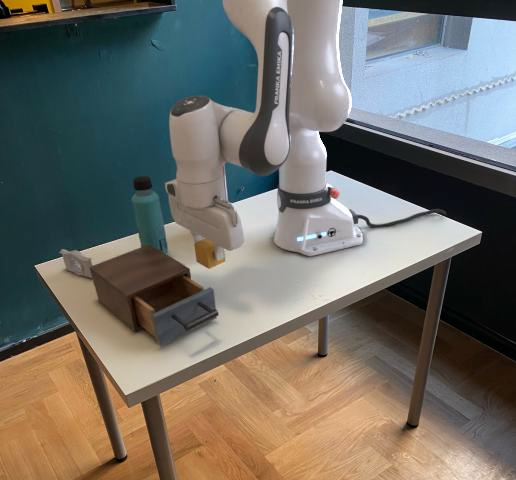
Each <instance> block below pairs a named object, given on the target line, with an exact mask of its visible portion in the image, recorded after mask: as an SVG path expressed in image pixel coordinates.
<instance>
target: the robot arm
mask: <svg viewBox="0 0 516 480" xmlns="http://www.w3.org/2000/svg"><path fill="white" fill-rule="evenodd" d="M222 7H223V10H224V13H225V15H226V17H227V18H228V20H229V22H230V23H231V24H232V25H233V26H234V28H235V29H236V30H238V31H239V32H240V33H241V34H242V35H243V36H244V37H246V39H248V41H250V43H251V45H252V46H253V49H254V50H255V52H256V57H257V63H258V64H257V65H258V68H257V84H256V85H257V86H256V103H255V111H254V112H251V111H248V110H244V109H240V108H237V107H233V106H226V105H223V104H220V103H217V102H216V101H213V100H212V99H211V98H210V97H208V96H206V95H199V94H198V95H193V96H187V97H184V98H182V99H180V100H178V101H177V102H176V103H175V104H174V105H173V106H172V107H171V109H170V111H169V117H168V123H169V124H168V128H169V139H170V147H171V154H172V158H173V160H174V161H175V165H176V172H175V176H176V177H175V179H172V180H169V181H166V182H165V183H164V189H165V192H166V194H168V196H167V197H168V199H167V200H168V204H169V210H170V214H171V217H172V219H173V222H175V224H177V225H179V226H181V227H182V228H185V229H186V230H188V231H190V235H191V236H192V239H193V241H194V243H196V242H198V241H200V240H203V239H207V240H209V241H211V242H213V243H214V246H215V247H216V248H215V251H213V252H212V254H213V258H214V259H215V260H217V261H220V260H222V259H223V258H224V254H223V251H224V252H225V250H227V251H229V252H231V251H234V250H236V249H239V248H240V247H242V246H243V245H244V243H245V236H244V229H243V224H242V219H241V216H240V214H239V212H238V210H237V209H236V208H235V207H234V206H233V203H232V202H231V201H229V200H228V201H225V200H224V198H225V190H224V180H223V171H222V166H223V164H224V165H225V164H227V163H230V164H232V165H234V166H238V167H241V168H243V169H245V170H247V171H248V172H250V173H253V174H255V175H256V176H259V177H266V176H269V175H271V174H274V173H275V172H277V171H278V185H277V192H276V204H277V209H278V213H277V214H278V215H277V223H276V228H275V233H274V236H273V242H274V244H275V245H276V246H277V247H279V248H281V249H283V250H286V251H289V252H295V253H299V254H301V255H304V256H308V257H313V256H318V255H322V254H327V253H331V252H335V251H339V250H342V249H343V250H344V249H347V248H351V247H355V246H359V245H362V244H363V239H364V238H363V233H362V230H361V229H360V228H359V227H358V226H357V225H358V224H359V219H360V220H363V221H365V223H366V225H367V226H368V227H370V228H372V229H375V228H377V229H378V228H388V227H392V226H396V225H399V224H404V223H407V222H409V221H413V220H414V219H416V218H420V217H423V216H428V215H432V214H440V215H442V216H447V215H448V214H447V212H446V211H445V210H443V209H440V208H435V209H430V210H426V211H421V212H418V213H414V214H412V215H409V216H407V217H405V218H400V219H397V220H393V221H390V222H385V223H379V224H377V223H371V221H370V218H369V217H368V216H365V215H362V214H358V213H357V212H355V211H354V210H353V209H352V208H349V209H348V208H347V207H346V206H345V205H343V204H342V203H340V202H339V201H338V200H337V199H338V198H339V197H340V191H338V189H337V188H336V187H333V186H332V184H330V183H328V182H327V181H326V178H327V160H328V159H327V157H328V155H327V150H326V147H325V145H324V144H323V141H322V140H321V138H320V133H329V132H330V133H331V132H334V131H336V130H339V128H341V127H342V126H343V125H344V124H345V123H346V121H347V119H348V118H349V115H350V112H351V109H352V95H351V92H350V89H349V88H348V86H347V84H346V82H345V80H344V76H343V72H342V67H341V59H340V50H339V49H340V47H339V46H340V45H339V35H340V24H341V15H342V7H343V0H222ZM319 132H320V133H319Z"/></svg>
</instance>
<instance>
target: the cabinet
mask: <svg viewBox="0 0 516 480" xmlns="http://www.w3.org/2000/svg"><path fill="white" fill-rule="evenodd" d="M89 268H90V272H91V275H92V278H91V279H92V282H93V286H94V289H95V293H96V297H97V301H98V302H99V303H100V304H101V305H102V306H103V307H104V308H105V309H107V310H108V311H109V312H110V313H112V314H113V315H114V316H115V317H116V318H118V319H119V320H120V322H122V323H124V324H125V325H126V326H127V327H129V329H130V330H132V331H133V332H135V333H136V332H139V331H140V330H143V329H144V328H143V327H142V326H141V325H140V324H139V323H137V322H136V317H135V313H134V308H133V304H132V299H131V297H134V296H136V295H138V294H141V293H143V292H145V291H147V290H150V289H152V288H154V287H157V286H159V285H161V284H164V283H166V282H168V281H170V280H173V279H175V278H177V277H180V276H182V275H185V276H187V277H188V278H190V279H191V280H192V274H191V268H190V267H188V266H186V265H184V264H183V263H181V262H179V261H178V260H176V259H175V258H173V257H172V256H170V255H168V254H165V253H163V252H162V251H160V250H158V249H157V248H155V247H153V246H152V245H150V244H148V245H146V246H143V247H141V246H140V247H138V248H135V249H133V250H130V251H128V252H125V253H123V254H120V255H117V256H113V257H112V258H109V259H107V260H103V261H102V262H99V263H96V264H94V265H92V266H91V267H89Z"/></svg>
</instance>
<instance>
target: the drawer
mask: <svg viewBox="0 0 516 480" xmlns="http://www.w3.org/2000/svg"><path fill="white" fill-rule="evenodd" d="M131 299H132V304H133V308H134V313H135V317H136V322H137V323H139V324H140V325H141V326H142V327H143V329H145V330H146V331H147V332H148V333H150V334H151V335H152V336H153V337H154V338H155V340H156V343H157V345H158V346H159V347H163V346H164V345H166V344H168V343H171V342H173V341H175V340H176V339H179V338H180V337H182V336H184V335H186V334H188V333H190V332H193V331H195V330H196V329H198V328H200V327H202V326H204V325H207V324H208V323H210V322H212V321H214V320H216V319H217V318H218V316H219V315H220V314H219V311H218V310H217V309H216V308H217V307H216V298H215V289H214V288H212V287H210V286H209V287H207V288H205V289H204V286H203V285H201V284H199V283H198V282H197V281H195V280H193V279H192V278H191V279H190V278H188V277H187V276H185V275H182V276H180V277H177V278H175V279H173V280H170V281H168V282H166V283H164V284H161V285H159V286H157V287H154V288H152V289H150V290H147V291H145V292H143V293H141V294H138V295H136V296H134V297H131Z"/></svg>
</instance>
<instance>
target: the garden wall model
mask: <svg viewBox="0 0 516 480" xmlns="http://www.w3.org/2000/svg"><path fill="white" fill-rule="evenodd" d="M59 254H61V256H62V259H63V262H64V266H65V269H66V271H68V272H71V273H74V274H75V275H76V276H83V277H86V278H89V279H92V275H91V272H90V268H89V267H91V266H93V263H92V260H93V258H92V257H87V256H85V255H84V254H83V253H82V252H81V251H79V250H77V249H75V250H70V251H69V250H67V249H60V251H59Z"/></svg>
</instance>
